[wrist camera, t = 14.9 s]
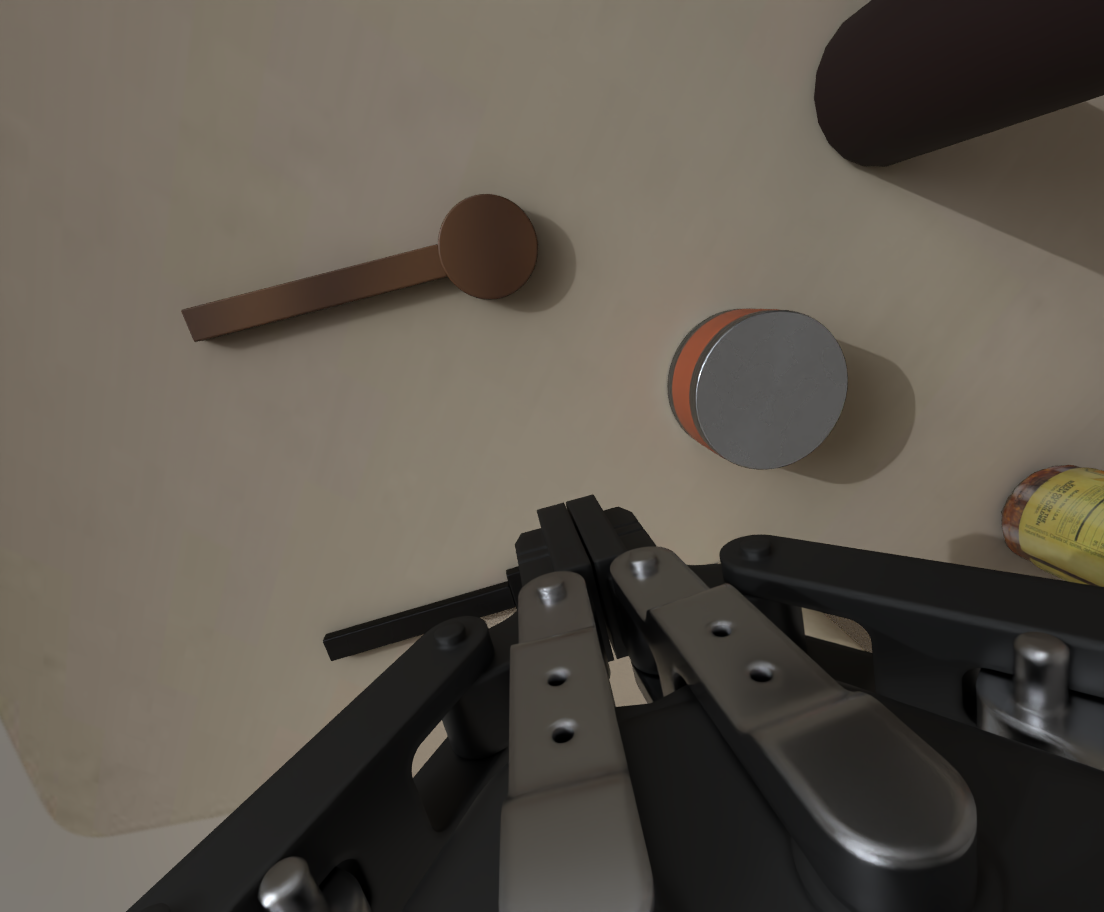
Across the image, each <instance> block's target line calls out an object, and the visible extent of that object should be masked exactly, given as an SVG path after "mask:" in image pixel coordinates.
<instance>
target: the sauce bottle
mask: <svg viewBox="0 0 1104 912" xmlns="http://www.w3.org/2000/svg"><path fill="white" fill-rule="evenodd" d="M1001 513H1002V529H1003V535H1004V538H1005V542H1006V544H1007V546H1008V547H1009V548H1010V549H1011V550H1012V551H1013V552H1014V553H1015V554H1017V555H1019V556H1020V557H1022V558H1024V559H1026V560H1029V561H1031V562H1032V563H1033V564H1035V565H1036V566H1037V567H1038V568H1040V569H1042V570H1044V571H1046V572H1048V573H1050V574H1053V575H1055V576H1057V577H1059V578H1061V579H1063V580H1065V581H1068V582H1074V583H1080V584H1087V585H1093V586H1100V587H1104V471H1102V470H1098V469H1093V468H1080V467H1077V466H1073V465H1066V466H1052V467H1049V468H1047V469H1042V470H1040V471H1037V472H1034V473H1033V474H1031V475H1030V476H1029V477H1027V478H1026V479H1025V480H1023V481H1022V482H1021V483H1020V484H1019V485H1018V486H1017V487H1016V488H1015V489H1014V491H1013V492H1012V494H1011V495H1010V496H1009V497H1008V500H1007V501H1006V504H1005V506H1004V508H1003V510H1002V512H1001Z"/></svg>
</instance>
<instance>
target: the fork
mask: <svg viewBox="0 0 1104 912" xmlns="http://www.w3.org/2000/svg"><path fill="white" fill-rule="evenodd" d="M506 575H507V579H508V581H507V582H503V583H500V584H496V585H493V586H490V587H486V588H483V589H479V590H476V591H472V592H469V593H466V594H462V595H459V596H455V597H452V598H448V599H445V600H442V601H438V602H435V603H431V604H428V605H424V606H421V607H417V608H414V609H411V610H407V611H404V612H400V613H397V614H393V615H390V616H387V617H383V618H380V619H376V620H373V621H369V622H366V623H363V624H359V625H356V626H352V627H349V628H345V629H342V630H339V631H335V632H332V633H328V634H326V635H325V637H324V639H323V643H324V645H325V648H326V650H327V652H328V655H329V657H330V659H331V661H334V660H337V659H341V658H344V657H347V656H351V655H354V654H358V653H361V652H364V651H368V650H371V649H375V648H378V647H381V646H385V645H388V644H392V643H395V642H398V641H402V640H405V639H409V638H412V637H415V636H419V635H422V634H425V633H426V632H427V631H429V630H430V629H431V628H433V627H434V626H436V625H438V624H440V623H442V622H444V621H446V620H449V619H452V618H456V617H462V616H474V617H478V618H480V617H483V616H487V615H490V614H494V613H497V612H500V611H504V610H507V609H511V608H514V607H515V606H516V608H517V610H518V595H519V592H520V591H521V589H522V582H521V576H520V571H519V566H518V567H515V568H512V569H508V570H506Z"/></svg>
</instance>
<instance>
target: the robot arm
mask: <svg viewBox="0 0 1104 912" xmlns="http://www.w3.org/2000/svg"><path fill="white" fill-rule="evenodd" d="M566 506H567V508H566ZM566 506H565V504H564V503H560V504H557V505H553V506H549V507H546V508H542V509H538V510H537V514H538V518H539V521H540V525H541V528H539V529H536V530H532V531H529V532H525V533H521V535H520V537H519V538H518V540H517V542H516V543H515V548H516V554H517V559H518V564H519V571H520V576H521V582H522V589H521V591H520V592H519V595H518V610H517V611H516V612H515V613H514V614H513V615H512V616H510V617H509V618H508V619H506V620H504V621H503V622H501V623H499V624H497V625H495V626H493V627H491V628H489V629H488V627H487V624H486V622H485V621H484V620H482V619H481V618H478V617H474V616H462V617H456V618H452V619H449V620H446V621H444V622H442V623H440V624H438V625H436V626H434V627H433V628H431V629H430V630H429V631H427V632H426V633H425V634H424V635H423V636H422V637H421V638H420V639H418V640H417V641H416V642H415V643H414V644H413V645H412V646H411V647H410V648H409V649H408V650H407V651H406V652H405V653H403V654H402V655H401V656H400V657H399V658H398V659H397V660H396V661H395V662H394V663H393V664H392V665H391V666H389V667H388V668H387V669H386V670H385V671H384V672H383V673H382V674H381V675H380V676H379V677H378V678H377V679H376V680H374V681H373V682H372V683H371V684H370V685H369V686H368V687H367V688H366V689H365V690H364V691H363V692H362V693H360V694H359V695H358V696H357V697H356V698H355V699H354V700H353V701H352V702H351V703H350V704H349V705H348V706H346V707H345V708H344V709H343V710H342V711H341V712H340V713H339V714H338V715H337V716H336V717H335V718H334V719H333V720H331V721H330V722H329V723H328V724H327V725H326V726H325V727H324V728H323V729H322V730H321V731H320V732H319V733H317V734H316V735H315V736H314V737H313V738H312V739H311V740H310V741H309V742H308V743H307V744H306V745H305V746H304V747H302V748H301V749H300V750H299V751H298V752H297V753H296V754H295V755H294V756H293V757H292V758H291V759H290V760H288V761H287V762H286V763H285V764H284V765H283V766H282V767H281V768H280V769H279V770H278V771H277V772H276V773H274V774H273V775H272V776H271V777H270V778H269V779H268V780H267V781H266V782H265V783H264V784H263V785H262V786H261V787H259V788H258V789H257V790H256V791H255V792H254V793H253V794H252V795H251V796H250V797H249V798H248V799H247V800H245V801H244V802H243V803H242V804H241V805H240V806H239V807H238V808H237V809H236V810H235V811H234V812H233V813H232V814H230V815H229V816H228V817H227V818H226V819H225V820H224V821H223V822H222V823H221V824H220V825H219V826H218V827H217V828H215V829H214V830H213V831H212V832H211V833H210V834H209V835H208V836H207V837H206V838H205V839H204V840H202V841H201V842H200V843H199V844H198V845H197V846H196V847H195V848H194V849H193V850H192V851H191V852H190V853H189V854H187V855H186V856H185V857H184V858H183V859H182V860H181V861H180V862H179V863H178V864H177V865H176V866H175V867H174V868H172V869H171V870H170V871H169V872H168V873H167V874H166V875H165V876H164V877H163V878H162V879H161V880H159V881H158V882H157V883H156V884H155V885H154V886H153V887H152V888H151V889H150V890H149V891H148V892H147V893H146V894H145V895H143V896H142V897H141V898H140V899H139V900H138V901H137V902H136V903H135V904H134V905H133V906H132V907H131V908H129V909H128V910H127V911H126V912H1104V587H1100V586H1093V585H1087V584H1080V583H1074V582H1067V581H1061V580H1055V579H1048V578H1042V577H1035V576H1029V575H1023V574H1016V573H1010V572H1003V571H997V570H990V569H984V568H978V567H971V566H965V565H958V564H952V563H946V562H939V561H933V560H926V559H920V558H913V557H907V556H901V555H894V554H888V553H881V552H875V551H869V550H862V549H856V548H849V547H843V546H836V545H830V544H824V543H817V542H811V541H804V540H798V539H792V538H785V537H779V536H772V535H749V536H744V537H740V538H737V539H734V540H732V541H730V542H728V543H727V544H726V545H724V546H723V547H722V549H721V551H720V561H721V563H718V564H707V565H686V564H685V563H684V562H683V561H682V560H681V559H680V558H679V557H678V556H677V555H676V554H675V553H674V552H673V551H671V550H669V549H666V548H663V547H657V546H656V545H655V543H654V542H653V541H652V539H651V538H650V536H649V535H648V534H647V532H646V531H645V530H644V529H643V527H642V525H641V524H640V523H639V522H638V520H637V519H636V517H635V516H634V515H633V513H632V512H630V511H628V510H625V509H623V508H620V507H615V508H611V509H608V510H604V511H603V510H602V508H601V506H600V505H599V503H598V501H597V500H596V498H595V496H594V495H589V496H586V497H582V498H578V499H575V500H571V501H567V502H566ZM802 608H806V609H810V610H815V611H819V612H823V613H827V614H831V615H835V616H840V617H844V618H848V619H851V620H853V621H855V622H857V623H858V624H860V625H861V626H862V627H863V628H864V629H865V630H866V631H867V632H868V634H869V636H870V638H871V642H872V653H870V652H867V651H863V650H859V649H856V648H852V647H848V646H844V645H841V644H837V643H833V642H830V641H826V640H822V639H819V638H815V637H811V636H808V635H805V630H804V622H803V614H802ZM609 640H610V641H609ZM610 642H611V645H612V647H613V650H614V652H615V655H616V657H617V659H619V658H622V657H626V656H629V657H630V659H631V663H632V667H633V672H634V676H635V680H636V683H637V685H638V687H639V689H640V691H641V693H642V694H643V696H644V698H645V700H646V702H647V703H648V704H641V705H631V706H621V707H616V706H615V701H614V697H613V693H612V689H611V685H610V681H609V678H610V668H609V664H608V662H609V661H613V660H614V657H613V653H612V649H611V645H610ZM441 720H442V721H443V724H444V727H445V730H446V732H447V735H448V737H447V738H446V739H445V740H444V742H443V743H442V744H441V745H440V746H439V748H438V749H437V750H436V751H435V752H434V754H433V755H432V756H431V757H430V758H429V760H428V761H427V762H426V763H425V764H424V766H423V767H422V768H421V769H420V770H419V772H418V773H417V774H416V775H415V776H414V778H413V777H412V762H413V758H414V755H415V753H416V751H417V749H418V747H419V746H420V744H421V743H422V742H423V741H424V740H425V738H426V737H427V736H428V735H429V734H430V733H431V731H432V730H433V729H434V728H435V727H436V726H437V725H438V723H439V722H440V721H441Z"/></svg>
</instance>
